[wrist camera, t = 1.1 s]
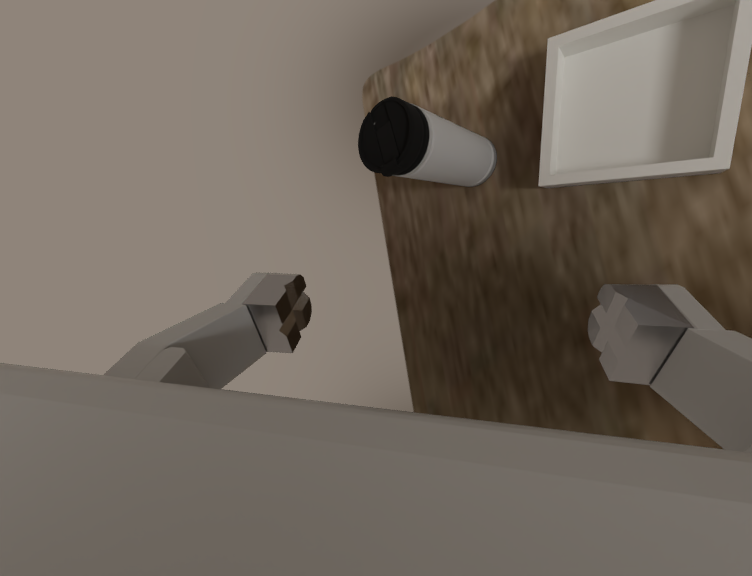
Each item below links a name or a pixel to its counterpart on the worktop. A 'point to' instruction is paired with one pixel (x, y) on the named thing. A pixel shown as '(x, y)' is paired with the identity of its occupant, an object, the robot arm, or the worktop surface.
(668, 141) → the tray
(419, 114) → the travel mug
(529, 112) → the worktop surface
